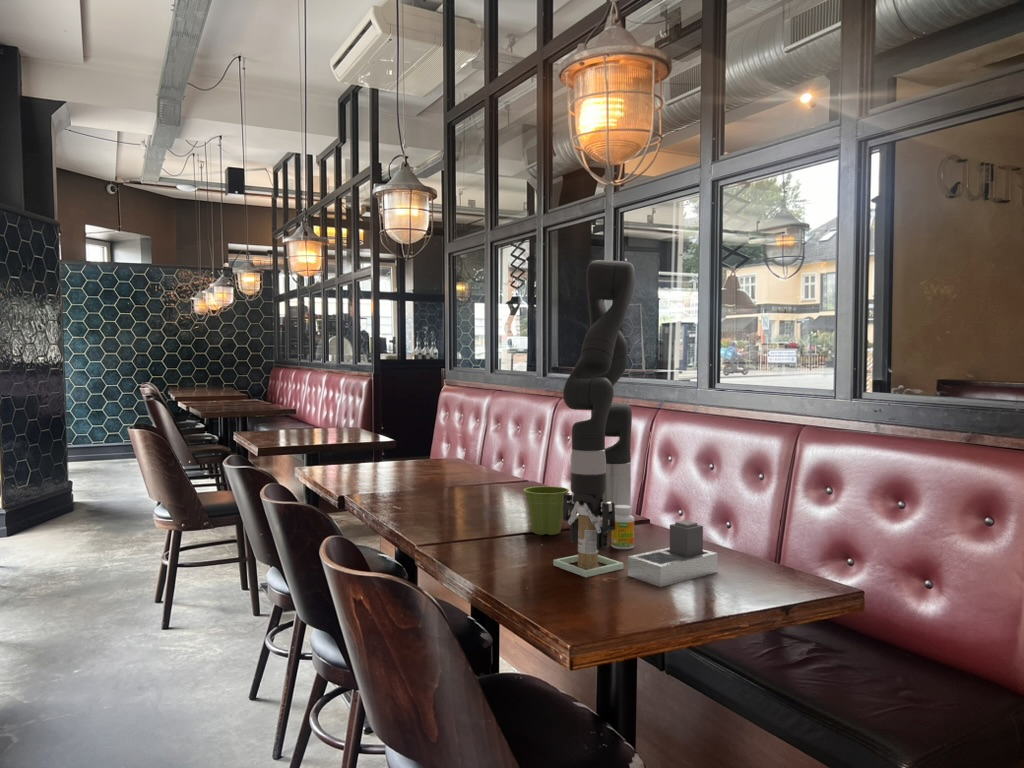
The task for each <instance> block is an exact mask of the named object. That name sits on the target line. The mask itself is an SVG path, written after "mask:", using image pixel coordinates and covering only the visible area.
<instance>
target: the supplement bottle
mask: <svg viewBox="0 0 1024 768" xmlns="http://www.w3.org/2000/svg"><path fill="white" fill-rule="evenodd" d="M630 513H631V515H630ZM610 532H611V533H610V534H611V540H610V541H611V544H610V545H611V547H612V548H614V549H617V550H630V549H633V548H634V547H635V517H634V516H633V515H632V506H628V505H616V506H615V530H612V531H610Z"/></svg>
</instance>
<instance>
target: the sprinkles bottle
mask: <svg viewBox="0 0 1024 768" xmlns="http://www.w3.org/2000/svg"><path fill="white" fill-rule="evenodd" d="M578 516H579V517H578V520H579V521H578V542H577V552H578V553H577V555H578V562H577V567H579V568H582V569H585V570H588V569H593V568H597V567H599V562H598V555H599V554H598V553H599V550H597V533H598V532H597V530H596V528H595V525H594V524H592V523H591V521H590V518H589V516H588V514H587V512H586V511H585V508H584V506H583V505H580V506H578ZM597 518H598V517H597Z"/></svg>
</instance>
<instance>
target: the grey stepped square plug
mask: <svg viewBox="0 0 1024 768" xmlns="http://www.w3.org/2000/svg"><path fill="white" fill-rule="evenodd" d="M669 547H670V553H673V554H676V555H680V556H683V557H687V558H689V557H694V556H698V555H702V554H703V550H704V525H699V524H698V522H695V521H691V520H688V519H687V520H686V519H685V520H680V521H679V520H678V521H675V523H672V524H669Z"/></svg>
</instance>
